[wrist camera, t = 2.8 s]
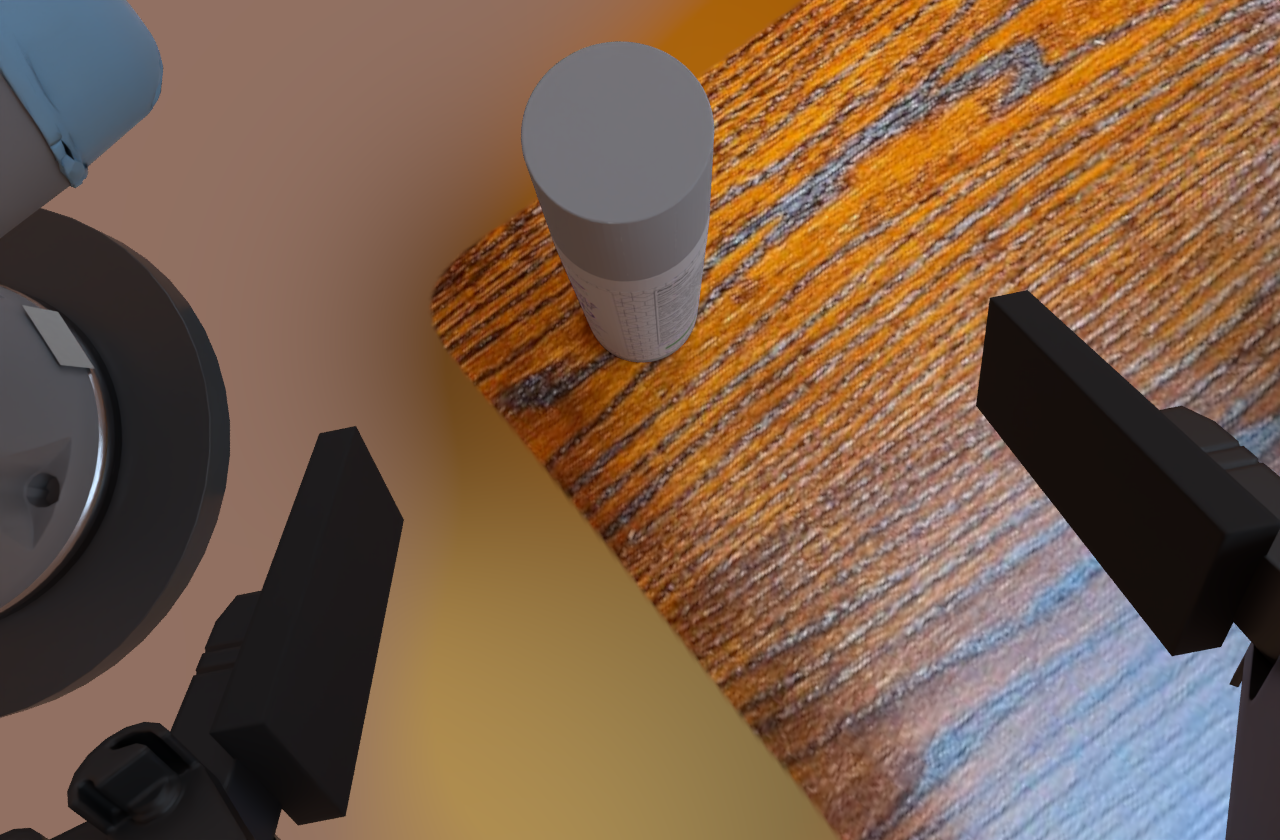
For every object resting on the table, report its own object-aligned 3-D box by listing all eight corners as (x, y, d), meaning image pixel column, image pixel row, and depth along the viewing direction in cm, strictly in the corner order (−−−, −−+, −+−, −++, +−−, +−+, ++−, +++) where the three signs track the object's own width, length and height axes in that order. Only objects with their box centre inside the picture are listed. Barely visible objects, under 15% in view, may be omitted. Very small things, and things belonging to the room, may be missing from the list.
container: (564, 320, 32) (473, 153, 17) (630, 234, 33) (596, -2, 18) (653, 384, 32) (638, 269, 17) (720, 296, 32) (761, 107, 17)
